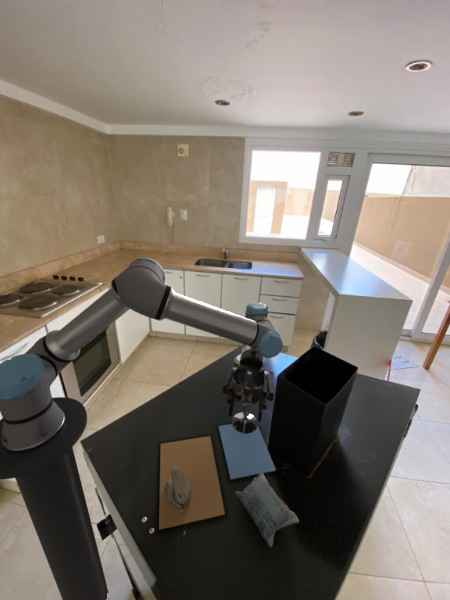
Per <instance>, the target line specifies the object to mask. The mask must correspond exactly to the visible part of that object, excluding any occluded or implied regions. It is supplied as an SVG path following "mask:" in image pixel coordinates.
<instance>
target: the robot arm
mask: <svg viewBox="0 0 450 600" xmlns="http://www.w3.org/2000/svg"><path fill="white" fill-rule="evenodd" d="M165 282H166V275H165V270H164V268H163V266H162V265H161V264H160V263H159V262H158V261H156V260H155V259H153V258H151V257H139V258H137V259H134V260H133V261H131V262H130V263H129V265H128V266H127V267H126V268H125V269H124V270H123V271H121V272H119V274H118V275H116V276H115V278H113V279H111V282H110V288H109V289H108V290H106V291H105V292H104V293H103V294H101V296H99V297H98V298H97V299H96V300H94V301H93V302H92V303H90V304H89V305H88V306H87V307H86V308H85V309H84V310H82V311H81V312H80V313H78V315H76V316H75V317H74V318H73V319H71V320H70V321H69V322H68V323H66V324H65V325H64V326H62V328H60V329H54V330H51V331H49V332H48V333H46V335H44V336H42V337H40V338H39V339H38V340H37V341H35V343H34V344H33V345H32V346H31V347H30V348H28V350H27V351H26V352H25V353H22V354H17V355H14V356H12V357H11V358H10V359H5V360H4V361H2V362H1V363H0V415H1V417H2V418H3V420H4V422H3V429H2V432H1V433H2V436H1V441H2V444H3V447H4V449H5V450H7V451H8V452H11V453H24V452H29V451H32V450H35V449H37V448H39V447H41V446H43V445H45V444H47V443H48V442H50V441H51V440H52V439H54V438H55V437H56V436H57V435H58V434H59V433H60V431H61V430H62V428H63V427H64V424H65V416H64V413H63V411H62V410H61V409H60V408H59V407H58V406H57V404H56V403H55V402H54V401H53V399H52V398H53V395H52V391H51V386H52V384H54V382H55V381H56V379H57V377H58V376H59V375H60V373H61V372H62V371H63V369H65V368H66V367H67V366H68V365H70V364H71V363H72V362H73V361H75V360H76V359H77V358H78V357H79V356H80V354H81V349H82V348H84V347H85V346H86V345H88V343H90V342H91V341H92V340H93V339H95V338H96V337H97V336H98V335H100V334H101V333H102V332H104V331H105V330H106V329H107V328H109V327H110V326H111V325H112V324H113V323H114V322H116V321H117V320H118V319H120V318H121V317H122V316H123V315H125V314H126V313H127V312H128V311H130V310H131V311H133V312H135V313H137V314H139V315H141V316H144V317H147V318H150V319H152V320H156V321H159V322H161V321H164V320H169V321H172V322H175V323H178V324H181V325H183V326H187V327H190V328H193V329H196V330H199V331H203V332H206V333H208V334H210V335H211V334H212V335H214V336H218V337H221V338H224V339H226V340H230V341H233V342H236V343H239V344H242V348H241V353H240V358H239V363H238V365H237V366H236V367H233V365H232V364H229V365H228V368H227V374H226V376H225V378H224V381H223V384H222V394H223V395H226V394H227V396H226V404H227V405H229V407H228V417H232V418H233V413H234V407H235V401H236V397H235V395H234V391H233V382H232V381H233V375H234V373H235V372H236V371H237V370H239V369H242V368H252V369H255V370H258V371H259V372H261V373H262V374H263V376H264V378H265V381H266V387H265V386H264V389H263V393H262V395H261V398H260V399H259V401H258V414H257V415H258V416H257V422H262V417H263V410H267V406H268V401H270V402H273V401H274V397H275V389H274V384H273V383H274V382H273V377H274V376H273V375H274V371H272V370H270V371H265V368H264V358H266V359H271V358H275V357H276V356H278V355H279V354H280V353H281V352H282V350H283V347H284V343H283V340H282V338H281V335H280V333H279V332H277V330H276V328H275V327H274V326H273V324H272V322H271V321H270V320H269V318H268V315H269V307H268V305H266V304H265V303H262V302H255V301H253V302H250V303H248V304H247V305H246V308H245V313H244V316H243V315H242V316H241V315H239V314H236V313H234V312H230V311H228V310H225V309H222V308H219V307H217V306H214V305H211V304H208V303H205V302H203V301H200V300H197V299H195V298H192V297H190V296H187V295H184V294H181V293H178V292H176V291H175V290H174V288H173V287H172V286H170V285H167V284H166V283H165ZM266 388H267V389H266Z"/></svg>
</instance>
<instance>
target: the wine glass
mask: <svg viewBox="0 0 450 600" xmlns="http://www.w3.org/2000/svg"><path fill="white" fill-rule="evenodd" d="M265 381H266V379H265V376H263V374H262V373H261V372H259V371H258V370H255V369H252V368H242V369H239V370H237V371H236V372H235V373H234V375H233V377H232V383H233V391H234V395H235V400H236V401H237V402H238V403H240V404H241V405H242V406H243V411H242V412H238V413H236V414H234V416H232V418H231V424H232V425H233V427H234V429H235V430H236V431H238V432H240V433H243V434H250V433H252V432H254V431H255V430H256V429H257V427H259V421H258V418H257V417H255V416H254V415H253V414H251V413H250V412H248V411H249V408H250V407H251V406H253V405H255V404H256V403H259V399H260V398H261V395H262V393H263V389H264V387H265Z"/></svg>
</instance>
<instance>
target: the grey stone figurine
mask: <svg viewBox="0 0 450 600" xmlns="http://www.w3.org/2000/svg"><path fill="white" fill-rule="evenodd" d="M165 499H166V501H167V503H168V505H169V507H170V508H171V509H172V510H174V511H176V512H177V513H185V512H186V511H187V510H188V508H189V504H190V503H189V502H190V499H191V487H190V485H189V483H188V481H187V480H186V479H185V476H184V473H183V471H182V469H181V468H179V467H178V468H176V467H173V468H172V479H170V480H169V481H168V482H167V483H166V486H165Z"/></svg>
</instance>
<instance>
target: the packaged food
mask: <svg viewBox="0 0 450 600" xmlns="http://www.w3.org/2000/svg"><path fill="white" fill-rule="evenodd" d="M234 494H235V496H236V498H237V499H238V501H239V503H240V504H241V505H242V507H243V508H244V510H245V511H246V512H247V514H248V516H249V517H250V518H251V520H252V522H253V524H254V525H255V527H256V528H257V530H258V532H259V534H260V535H261V537H262V539H263V540H264V542H265V543H266V544H267V545H268V547H270V548H273V545H274V541H275V540H274V539H275V534H276V532H277V531H279V530H280V529H283V528H286V527H288V526H291V525H293V524H295V525H296V524H298V523H299V522H300V520H299V518H298V516H297V514H296V513H295V512H294V511H293V510H290V508H289V506H288V505H287V504H286V503H285V502H284V500H283V499H281V498H280V497H279V496H278V494H277V493H276V492H275V490H274V488H273V487H272V486H271V485H270V483H269V481H268V479H267V478H266V476H265V473H263V471H261V473H260V474H257V476H255V477H254V478H253V479H252V481H251V482H250V484H248V485H247V486H246V487H245V488H244V489H243V490H242V491H238V490H237V491H236V490H235V491H234Z"/></svg>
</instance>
